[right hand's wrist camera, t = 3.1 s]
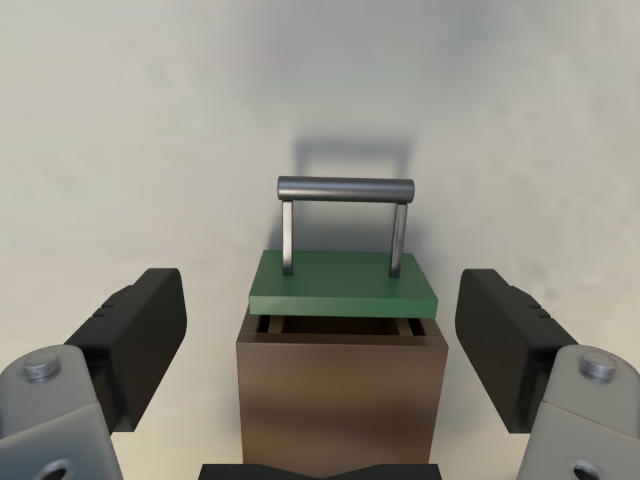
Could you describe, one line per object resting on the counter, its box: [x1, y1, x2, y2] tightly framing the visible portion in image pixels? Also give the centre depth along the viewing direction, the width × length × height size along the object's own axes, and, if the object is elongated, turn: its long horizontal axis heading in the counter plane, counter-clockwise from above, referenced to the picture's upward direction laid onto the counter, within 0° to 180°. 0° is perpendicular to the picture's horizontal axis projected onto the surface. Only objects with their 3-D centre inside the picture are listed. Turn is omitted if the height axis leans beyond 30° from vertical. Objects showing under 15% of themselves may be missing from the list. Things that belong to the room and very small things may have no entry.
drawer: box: [249, 176, 438, 336], centre depth 26 cm, size 25×10×6 cm, turn 178°
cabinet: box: [236, 305, 449, 478], centre depth 29 cm, size 21×11×8 cm, turn 178°
